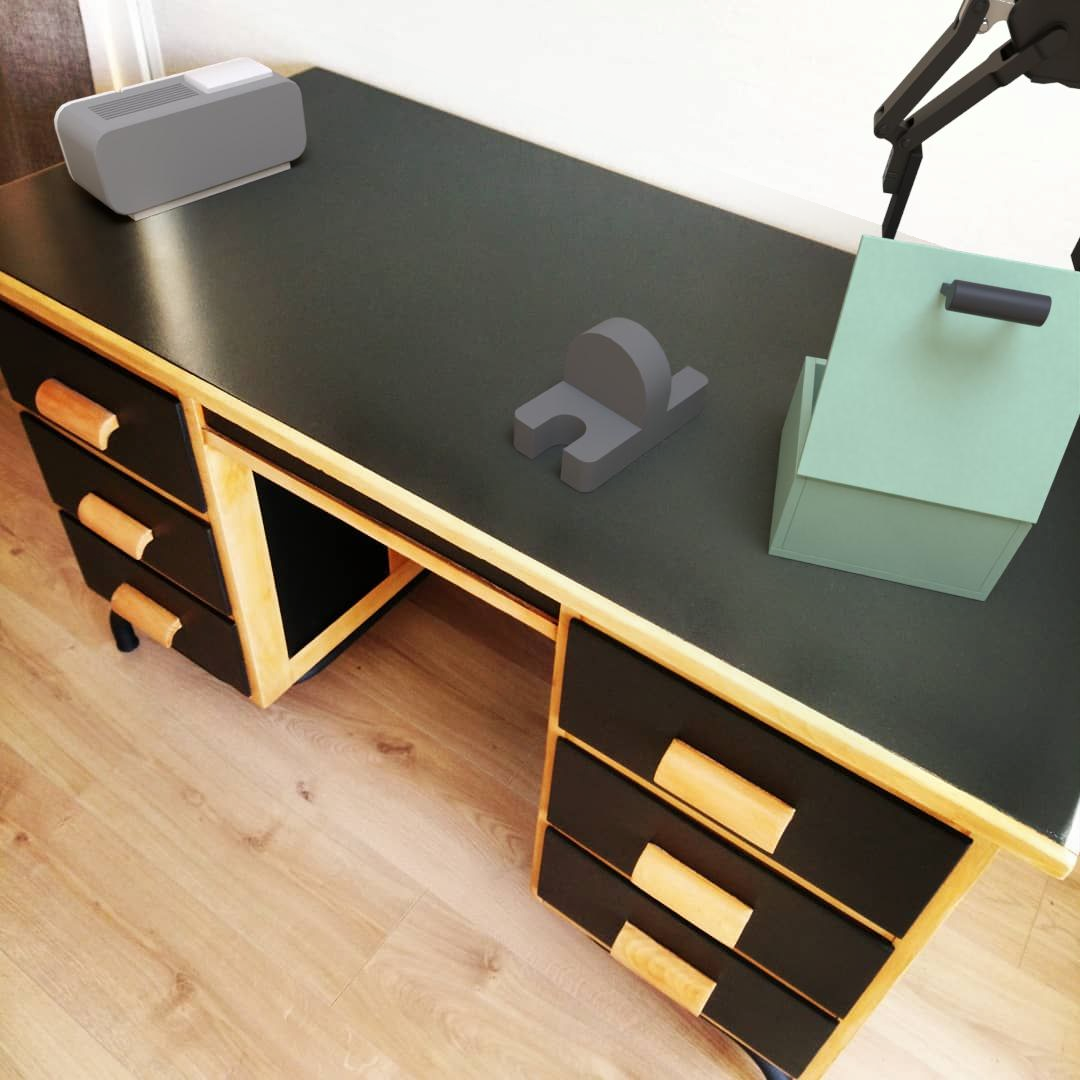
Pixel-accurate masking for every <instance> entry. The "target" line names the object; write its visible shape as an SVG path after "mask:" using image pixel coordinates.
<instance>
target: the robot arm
mask: <svg viewBox="0 0 1080 1080" xmlns="http://www.w3.org/2000/svg"><path fill="white" fill-rule="evenodd" d="M1001 21H1005V22H1006V26H1007V29H1008V32H1009V36H1010V38H1009V39H1008V40H1006V41H1005V42H1004V43H1003V44H1000V46H998V47H997V48H996V49H994V50H993V51H992V52H991V53H990V54H989V55H988V56H987V58H986V59H985V60H984V61H983V62H981V63H979V64H978V65H977V66H976V67H974V68H973V69H971V70H970V71H969V72H967V73H966V74H965V75H964V76H962V77H961V78H959V79H957V80H956V81H955V82H954V83H953V84H952V85H950V86H949V87H947V88H946V89H945V90H944V91H942V92H941V93H939V94H938V95H936V96H935V97H933V99H931V100H930V101H928V102H927V103H926V104H924V105H923V106H921V107H920V108H919V109H918V110H916V111H915V112H914V113H912V111H913V110H914V109H915V108H916V107H917V105H918V104H919V103H920V102H921V101H922V100H923V99H924V98H925V97H926V95H927V94H928V93H929V92H930V91H931V90H932V89H933V88H934V87H935V85H936V84H937V83H938V82H939V81H940V80H941V79H942V78H943V77H944V75H945V74H946V73H947V72H948V71H949V70H950V69H951V68H952V67H953V65H954V64H956V62H957V61H958V59H959V58H961V57H962V55H963V54H964V53H965V52H966V51H967V50H968V48H969V47H970V46H971V44H972V42H973V41H974V40H975V38H976V37H977V35H984V34H986V33H988V32H989V31H990V30H991V29H992V28H993V26H994V25H996V23H998V22H1001ZM1021 76H1024V77H1026V78H1027V79H1029V81H1030V83H1032V84H1038V85H1048V84H1055V83H1056V84H1060V85H1062V86H1065V87H1066V88H1068V89H1075V90H1080V0H962V2H961V4H960V7H959V9H958V11H957V13H956V15H955V18H954V20H953V21H952V23H951V24H950V25H949V26H948V27H947V28H946V30H945V31H944V32H943V33H942V34H941V35H940V36H939V38H938V39H937V40H936V41H935V42H934V43H933V44H932V46H931V47H930V48H929V49H928V51H926V53H924V55H922V58H920V59H919V61H917V63H916V64H915V65H914V66H913V67H912V69H911V70H910V71H909V72H908V73H907V75H906V76H905V77H904V78H903V79H902V80H901V81H900V83H899V84H898V85H897V86H896V88H895V89H894V90H893V91H892V92H891V93H890V94H889V95H888V96H887V98H886V99H885V100H884V101H883V103H882V104H880V106H879V107H878V108H877V109H876V110H875V112H874V114H873V135H874V137H876V138H877V139H879V140H885V141H886V142H889V143H890V144H891V145H892V146H891V150H890V152H889V154H888V159H887V162H886V165H885V168H884V171H883V174H882V177H881V178H882V179H881V180H882V183H881V184H882V193H883V194H889V195H891V197H890V200H889V203H888V206H887V208H886V212H885V214H884V218H883V220H882V224H881V238H887V239H893V240H895V238H896V235H897V232H898V229H899V226H900V224H901V221H902V218H903V215H904V213H905V210H906V206H907V204H908V201H909V198H910V195H911V192H912V190H913V187H914V184H915V182H916V179H917V175H918V173H919V169H920V167H921V164H922V161H923V158H924V152H923V143H924V142H926V141H927V140H928V139H929V138H931V137H933V136H934V135H935V134H936V133H938V132H940V131H941V130H942V129H944V128H945V127H946V126H949V124H951V123H952V122H953V121H955V120H956V119H957V118H959V117H961V116H962V115H963V114H964V113H966V112H967V111H969V110H970V109H972V108H973V107H974V106H976V105H977V104H978V103H980V102H981V101H983V100H984V99H985V98H987V97H989V96H990V95H991V94H992V93H994V92H995V91H997V90H998V89H1000V88H1004V87H1007V86H1008V85H1010V84H1012V83H1013V82H1014V81H1016V80H1018V78H1020V77H1021ZM910 113H912V114H911V115H909V114H910ZM1078 237H1079V238H1078V239H1077V242H1076V243H1075V245H1074V248H1073V249H1072V251H1071V253H1070V256H1069V257H1070V260H1071V263H1072V267H1073V271H1078V272H1080V236H1078Z"/></svg>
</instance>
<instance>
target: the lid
mask: <svg viewBox="0 0 1080 1080" xmlns="http://www.w3.org/2000/svg"><path fill="white" fill-rule="evenodd" d="M826 360H827V363H826V366H825V370H824V373H823V377H822V381H821V384H820V388H819V391H818V395H817V399H816V402H815V406H814V409H813V413H812V417H811V420H810V424H809V427H808V431H807V435H806V438H805V442H804V445H803V449H802V453H801V456H800V460H799V463H798V467H797V474H798V475H802V476H807V477H812V478H817V479H822V480H827V481H831V482H836V483H841V484H846V485H851V486H856V487H861V488H865V489H870V490H875V491H880V492H885V493H890V494H894V495H899V496H904V497H909V498H914V499H919V500H923V501H928V502H933V503H938V504H943V505H948V506H952V507H957V508H962V509H967V510H972V511H977V512H982V513H986V514H991V515H996V516H1001V517H1006V518H1011V519H1015V520H1020V521H1025V522H1030V523H1032V524H1037V523H1038V520H1039V518H1040V515H1041V512H1042V510H1043V508H1044V505H1045V502H1046V500H1047V497H1048V495H1049V493H1050V490H1051V488H1052V485H1053V483H1054V480H1055V478H1056V475H1057V472H1058V470H1059V467H1060V465H1061V463H1062V460H1063V457H1064V455H1065V452H1066V450H1067V448H1068V445H1069V442H1070V440H1071V437H1072V435H1073V432H1074V429H1075V427H1076V425H1077V422H1078V420H1079V417H1080V272H1078V271H1075V270H1072V269H1066V268H1060V267H1054V266H1049V265H1042V264H1038V263H1037V264H1036V263H1031V262H1027V261H1021V260H1020V261H1019V260H1014V259H1007V258H1003V257H998V256H997V257H996V256H990V255H984V254H980V253H973V252H967V251H963V250H956V249H949V248H944V247H938V246H933V245H926V244H923V243H922V244H921V243H915V242H910V241H904V240H898V239H894V240H893V239H887V238H882V236H881V237H880V236H874V235H870V234H862V235H861V237H860V241H859V244H858V248H857V251H856V255H855V259H854V262H853V265H852V270H851V273H850V276H849V279H848V284H847V287H846V290H845V295H844V298H843V302H842V306H841V309H840V313H839V316H838V319H837V324H836V327H835V331H834V334H833V338H832V342H831V345H830V348H829V351H828V355H827V359H826Z"/></svg>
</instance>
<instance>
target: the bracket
mask: <svg viewBox="0 0 1080 1080" xmlns="http://www.w3.org/2000/svg"><path fill="white" fill-rule="evenodd" d="M708 384H709V378H708V376H706V375H705V374H704V373H703V372H700V371H698V370H697V369H695V368H693V367H691V366H690V365H687V366H685V367H684V368H683V369H681V370H680V371H678V372H676V373H675V374H674V375H672V372H671V367H670V363H669V361H668V358H667V356H666V353H665V351H664V349H663V348H662V346H661V345H660V343H659V341H658V340H657V338H656V337H655V336H654V335H653V334H652V333H651V332H650V331H649V330H648V329H646V328H645V327H643V325H641V324H640V323H639V322H637V321H634V320H631V319H630V318H626V317H617V316H614V317H612V318H607V319H605V320H603V321H601V322H599V323H598V324H596V325H594V326H593V327H591V328H589V329H588V330H586V331H584V332H582V333H580V334H579V335H578V336H577V337H575V338H573V339H572V340H571V342H570V344H569V346H567V349H566V354H565V358H564V368H563V379H562V381H560V382H558V383H557V384H556V385H554V386H552V387H550V388H549V389H547V390H545V391H543V392H542V393H541V394H538V395H537V396H536V397H534V398H532V399H530V400H529V401H528V402H525V403H524V404H522V405H520V406H519V407H517V408H516V410H515V411H514V421H513V422H514V423H513V424H514V425H513V443H512V446H513V447H514V448H515V450H516V451H518V452H519V453H521V454H522V455H524V456H525V457H526V458H528V459H530V460H534V459H535V458H536V457H537V456H540V455H541V454H543V453H544V452H546V451H547V450H548V449H550V448H552V447H554V446H562V445H563V446H566V447H564V448H563V449H562V456H561V457H562V458H561V469H560V478H559V480H560V481H561V482H563V483H565V484H566V485H567V486H569V487H571V488H572V489H573V490H575V491H577V492H578V493H579V492H580V493H591V492H593V491H595V490H596V489H598V488H599V487H600V486H602V485H603V484H604V483H606V482H607V481H609V480H610V479H612V478H613V477H614V476H616V475H617V474H619V473H620V472H622V471H623V470H625V468H627V467H628V466H630V465H631V464H633V463H634V462H635V461H637V460H638V459H640V458H641V457H642V456H643V455H645V454H646V453H648V452H649V451H651V450H652V449H653V448H654V447H656V446H657V445H659V444H661V443H662V442H663V441H664V440H665V439H667V438H669V437H670V436H671V435H672V434H674V433H676V432H677V431H678V430H679V429H681V428H683V427H684V426H685V425H687V424H689V422H691V421H692V420H694V419H695V418H697V417H698V416H699V415H700V414H701V413H702V410H703V406H704V401H705V397H706V392H707V389H708Z"/></svg>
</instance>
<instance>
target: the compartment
mask: <svg viewBox="0 0 1080 1080" xmlns="http://www.w3.org/2000/svg"><path fill="white" fill-rule="evenodd" d="M826 363H827V359H825V358H819V357H814V356H809V355H806V356H805V358H804V360H803V365H802V367H801V371H800V374H799V377H798V380H797V383H796V386H795V388H794V392H793V395H792V398H791V402H790V405H789V408H788V411H787V414H786V417H785V420H784V424H783V428H782V430H781V435H780V445H779V454H778V462H777V472H776V480H775V489H774V499H773V506H772V507H773V508H772V517H771V525H770V534H769V544H768V553H767V555H769V556H773V557H779V558H784V559H788V560H792V561H796V562H801V563H805V564H806V563H807V564H811V565H816V566H820V567H824V568H829V569H834V570H839V571H843V572H847V573H852V574H857V575H861V576H865V577H870V578H875V579H880V580H884V581H889V582H893V583H897V584H902V585H906V586H912V587H915V588H920V589H926V590H930V591H935V592H939V593H944V594H949V595H952V596H957V597H962V598H965V599H971V600H976V601H980V602H985V601H986V600H987V598H988V596H989V595H990V594H991V592H992V590H993V589H994V587H995V586H996V584H997V583H998V582H999V579H1000V578H1001V577H1002V575H1003V573H1004V572H1005V570H1006V568H1007V567H1008V566H1009V563H1010V562H1011V561H1012V559H1013V557H1014V556H1015V554H1016V553H1017V551H1018V550H1019V548H1020V546H1021V545H1022V543H1023V542H1024V540H1025V538H1026V537H1027V535H1028V534H1029V532H1030V530H1031V529H1032V527H1033V523H1030V522H1025V521H1020V520H1015V519H1011V518H1006V517H1001V516H996V515H991V514H986V513H982V512H977V511H972V510H967V509H962V508H957V507H952V506H948V505H943V504H938V503H933V502H928V501H923V500H919V499H914V498H909V497H904V496H899V495H894V494H890V493H885V492H880V491H875V490H870V489H865V488H861V487H856V486H851V485H846V484H841V483H836V482H831V481H827V480H822V479H817V478H812V477H807V476H802V475H798V474H797V467H798V463H799V460H800V456H801V453H802V449H803V445H804V442H805V438H806V435H807V431H808V427H809V424H810V420H811V417H812V413H813V409H814V406H815V402H816V399H817V395H818V391H819V388H820V384H821V381H822V377H823V373H824V370H825V366H826Z"/></svg>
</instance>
